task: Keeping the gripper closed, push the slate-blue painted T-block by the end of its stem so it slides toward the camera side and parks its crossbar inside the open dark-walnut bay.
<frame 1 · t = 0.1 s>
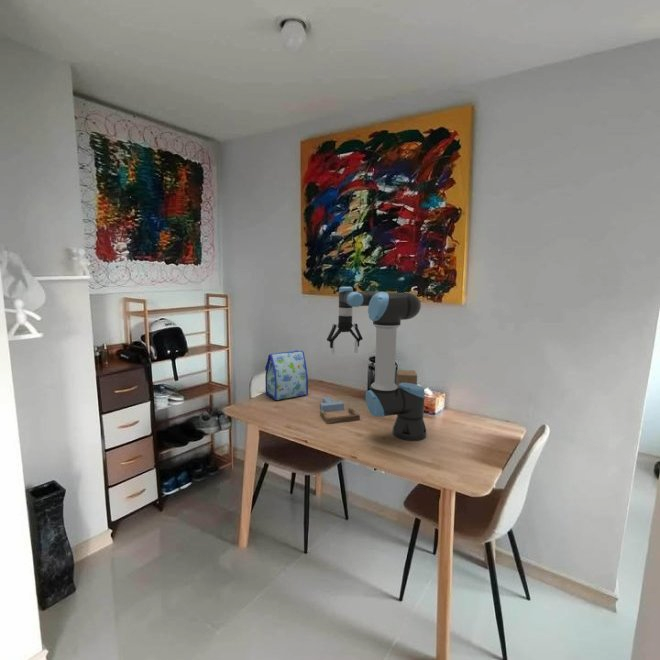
hand: (344, 353, 215), 28 cm above the table, fingers open, 13 cm apart
bay: (339, 417, 196), on the table
lunch bag: (286, 395, 229), on the table
wooden block: (405, 408, 211), on the table
tee: (329, 407, 210), on the table
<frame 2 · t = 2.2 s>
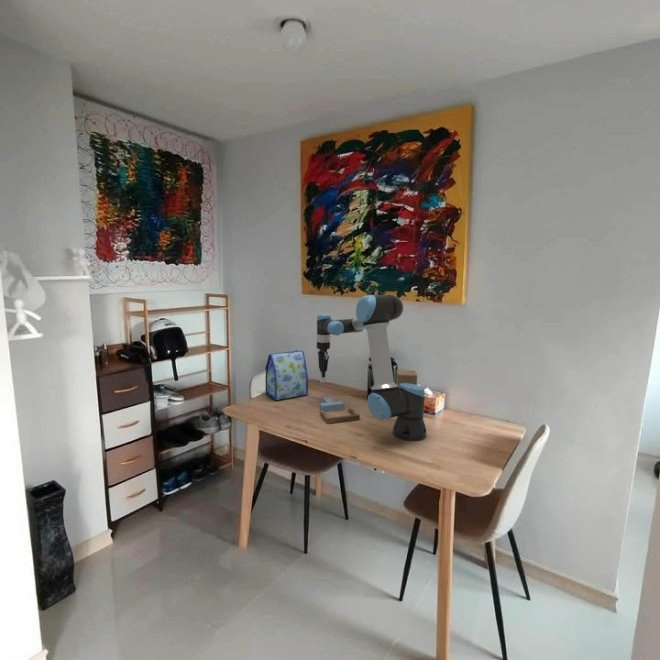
hand: (322, 382, 220), 10 cm above the table, fingers closed
nothing on the table moved.
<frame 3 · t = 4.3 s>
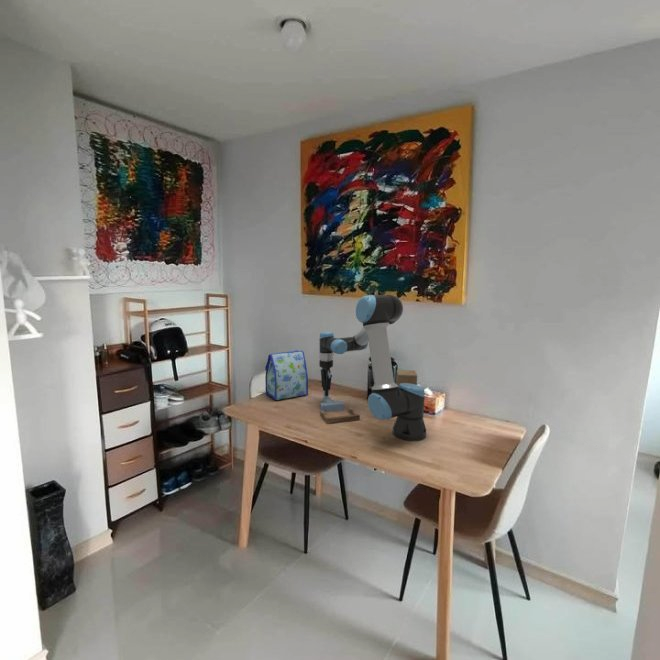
hand: (325, 400, 216), 1 cm above the table, fingers closed
tee: (329, 407, 210), on the table, touching gripper
everything else where it was.
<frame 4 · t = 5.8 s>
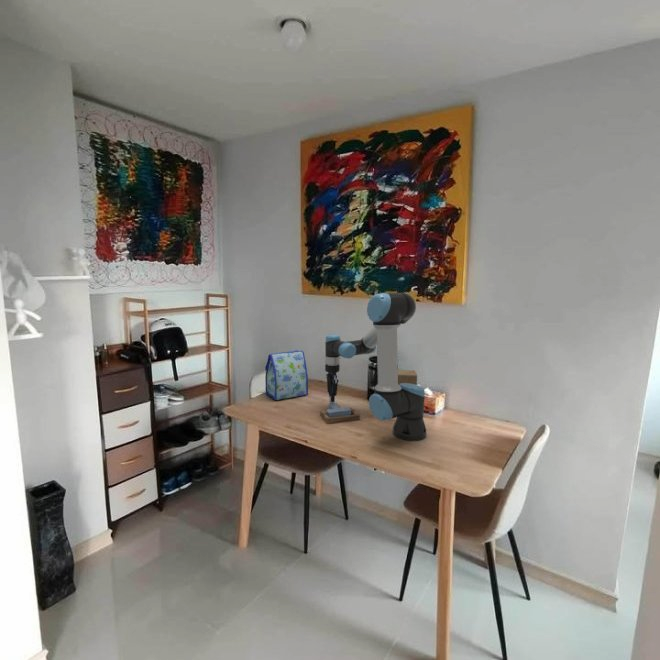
hand: (331, 406, 207), 1 cm above the table, fingers closed
tee: (336, 413, 201), on the table
everything else where it was.
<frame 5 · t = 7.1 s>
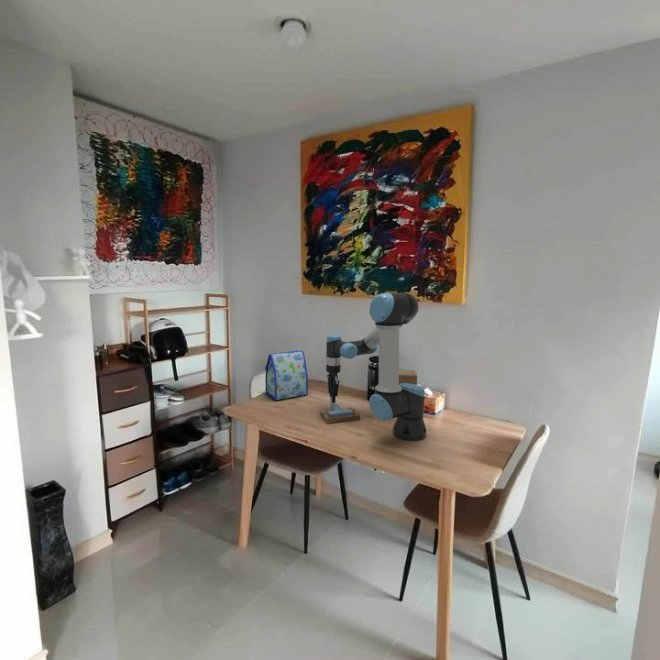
hand: (332, 407, 205), 1 cm above the table, fingers closed
tee: (337, 415, 199), on the table
everything else where it was.
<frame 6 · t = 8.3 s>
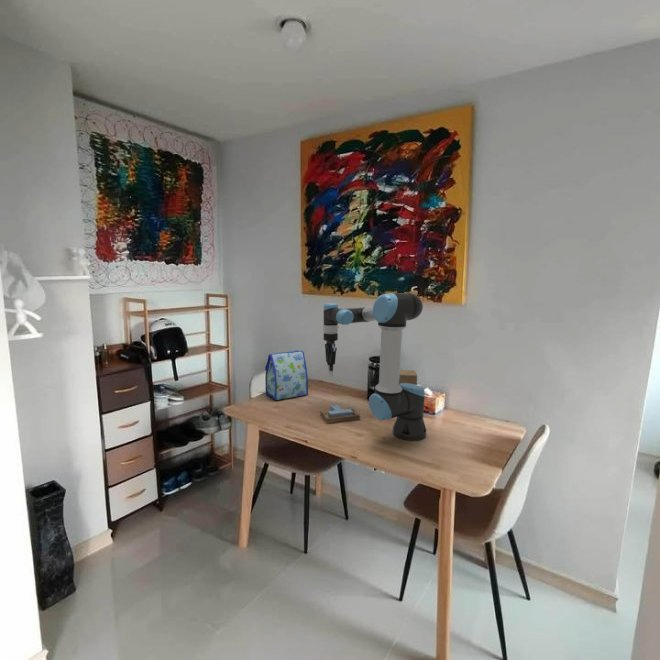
hand: (330, 376, 207), 17 cm above the table, fingers closed
nothing on the table moved.
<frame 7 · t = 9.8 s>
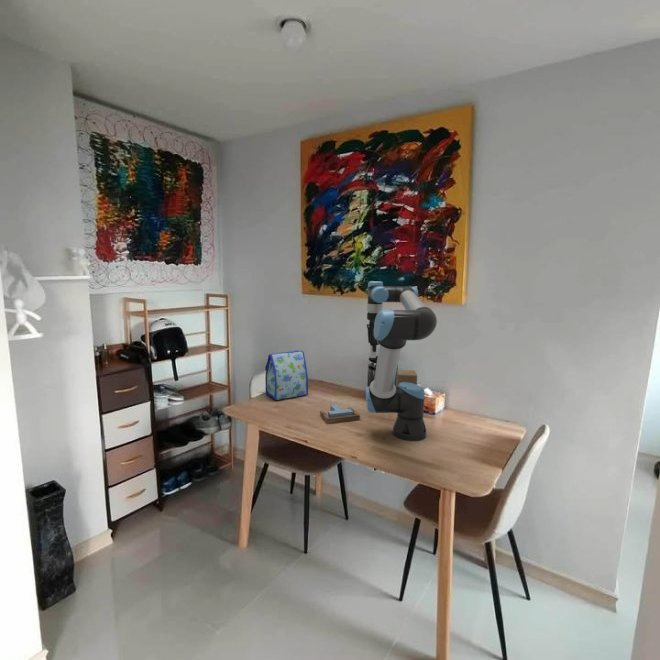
hand: (373, 357, 199), 29 cm above the table, fingers closed
nothing on the table moved.
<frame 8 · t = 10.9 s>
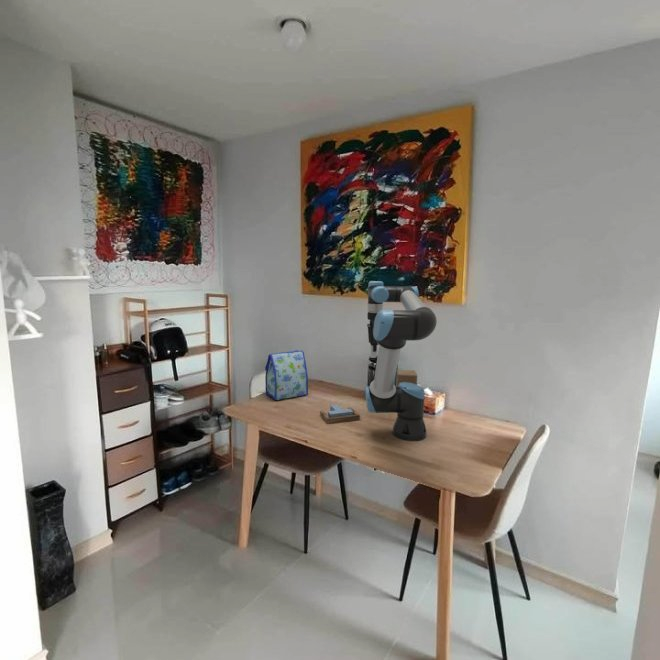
hand: (373, 357, 199), 29 cm above the table, fingers closed
nothing on the table moved.
at the end: tee 0.7 cm from the target spot, on the table; tee moved 12.1 cm from its start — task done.
